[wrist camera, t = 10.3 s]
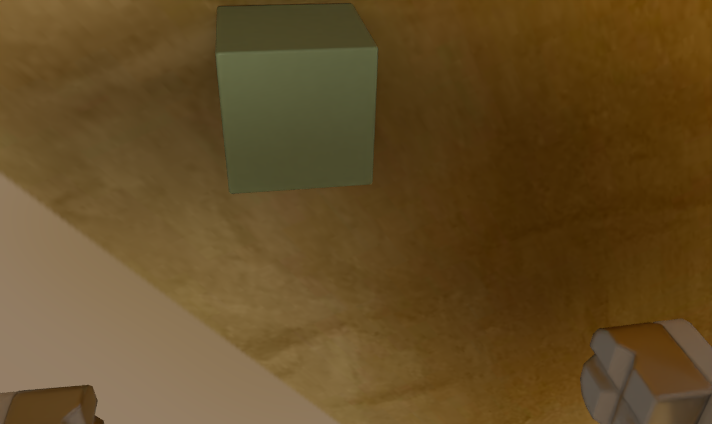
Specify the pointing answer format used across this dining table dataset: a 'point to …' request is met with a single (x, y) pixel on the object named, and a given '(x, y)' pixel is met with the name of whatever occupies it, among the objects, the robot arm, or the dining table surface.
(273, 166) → the block
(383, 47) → the dining table surface
